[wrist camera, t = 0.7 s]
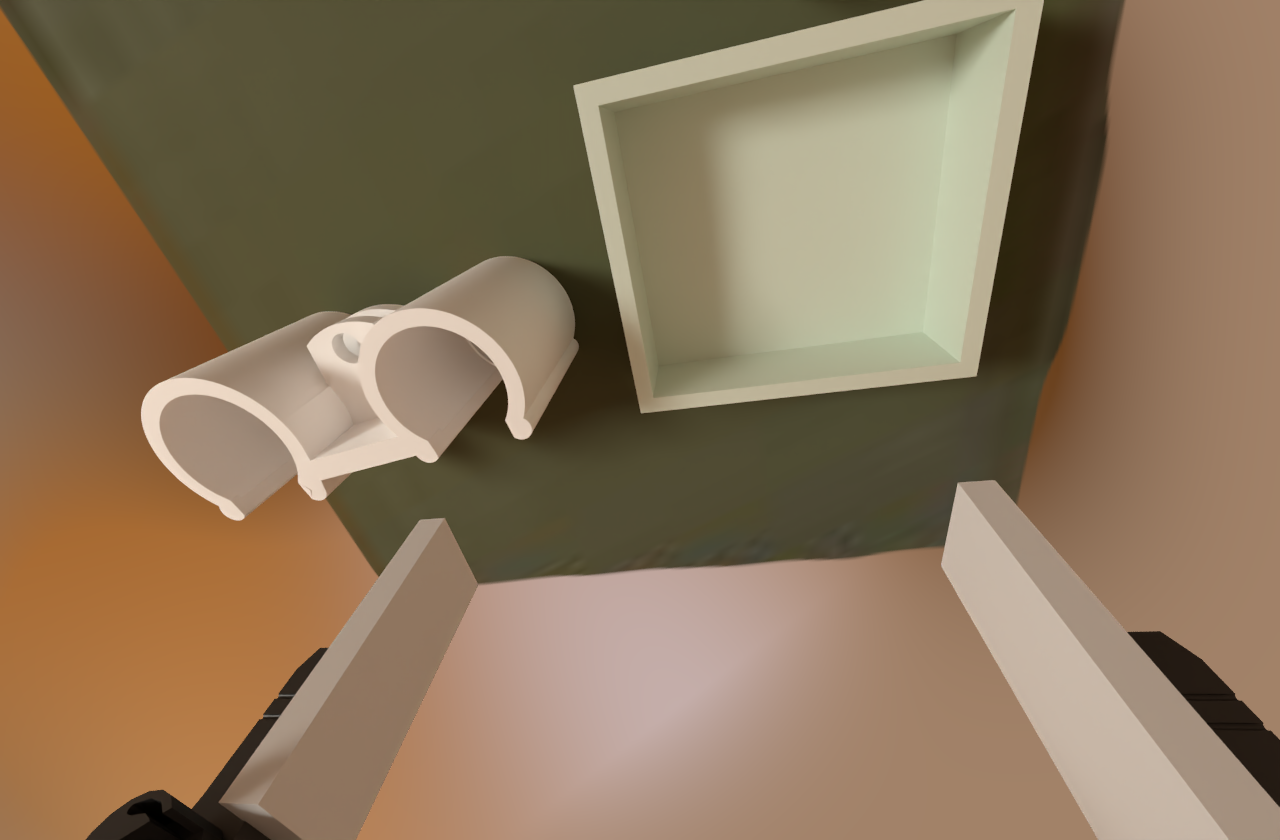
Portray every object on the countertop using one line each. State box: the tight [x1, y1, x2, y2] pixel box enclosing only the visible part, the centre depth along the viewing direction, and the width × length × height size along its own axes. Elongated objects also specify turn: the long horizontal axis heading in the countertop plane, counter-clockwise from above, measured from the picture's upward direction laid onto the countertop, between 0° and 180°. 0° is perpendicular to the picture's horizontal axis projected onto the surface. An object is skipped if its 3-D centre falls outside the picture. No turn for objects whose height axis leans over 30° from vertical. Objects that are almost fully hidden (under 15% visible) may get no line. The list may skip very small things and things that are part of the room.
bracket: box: [141, 256, 579, 520], centre depth 32 cm, size 25×10×12 cm, turn 109°
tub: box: [573, 0, 1044, 413], centre depth 28 cm, size 18×20×6 cm
